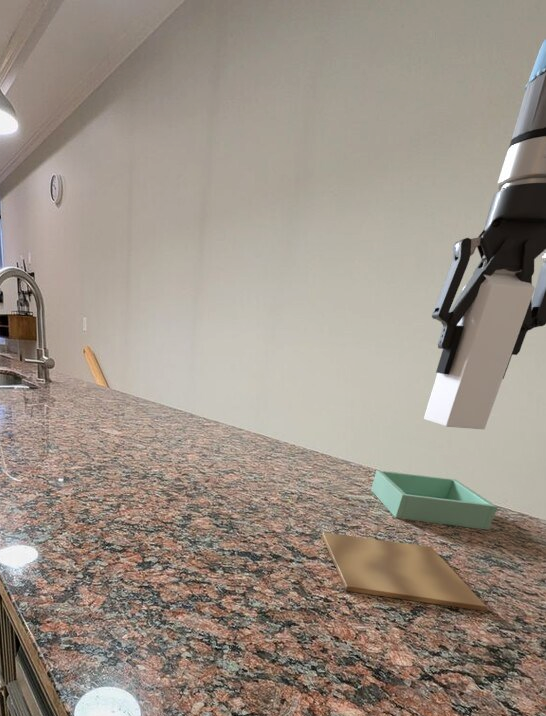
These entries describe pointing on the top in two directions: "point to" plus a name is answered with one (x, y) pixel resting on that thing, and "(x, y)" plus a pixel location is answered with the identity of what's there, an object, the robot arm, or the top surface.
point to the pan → (432, 500)
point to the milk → (481, 353)
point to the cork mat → (398, 571)
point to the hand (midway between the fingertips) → (468, 375)
